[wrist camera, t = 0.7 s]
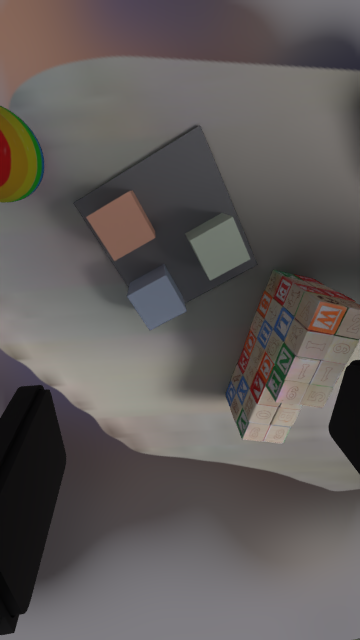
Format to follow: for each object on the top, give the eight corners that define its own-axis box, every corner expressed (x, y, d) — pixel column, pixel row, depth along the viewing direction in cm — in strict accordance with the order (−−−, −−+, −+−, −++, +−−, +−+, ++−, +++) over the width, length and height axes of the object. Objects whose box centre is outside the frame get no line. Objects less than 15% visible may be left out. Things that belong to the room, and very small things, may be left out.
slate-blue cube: (164, 263, 36) (165, 275, 31) (182, 296, 38) (186, 311, 33) (130, 282, 37) (126, 296, 32) (150, 313, 39) (149, 330, 34)
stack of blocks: (259, 399, 48) (292, 464, 36) (224, 394, 46) (247, 459, 35) (313, 277, 39) (378, 313, 28) (272, 267, 38) (321, 301, 27)
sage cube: (222, 212, 34) (232, 216, 29) (238, 249, 36) (250, 259, 31) (184, 233, 35) (189, 240, 30) (202, 269, 37) (209, 280, 32)
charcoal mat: (199, 125, 30) (200, 125, 30) (256, 263, 37) (257, 264, 37) (74, 202, 32) (73, 202, 32) (150, 319, 39) (150, 321, 39)
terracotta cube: (132, 190, 32) (129, 191, 28) (155, 230, 34) (155, 237, 30) (95, 212, 33) (86, 217, 28) (119, 251, 35) (114, 261, 30)
